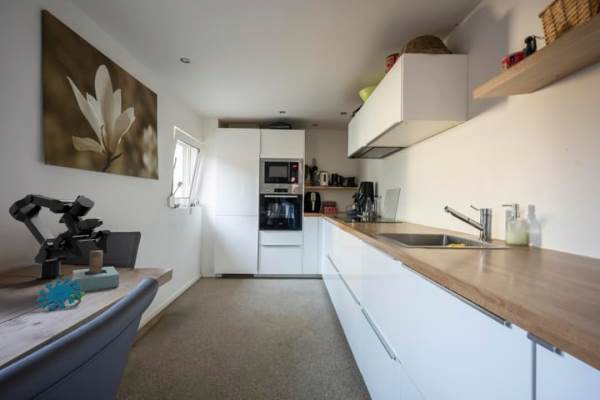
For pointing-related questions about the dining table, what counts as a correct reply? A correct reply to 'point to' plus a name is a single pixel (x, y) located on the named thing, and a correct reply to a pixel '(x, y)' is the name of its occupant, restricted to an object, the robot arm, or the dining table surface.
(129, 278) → the dining table surface
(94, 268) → the peg
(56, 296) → the gear
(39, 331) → the dining table surface
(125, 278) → the dining table surface
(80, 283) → the housing
